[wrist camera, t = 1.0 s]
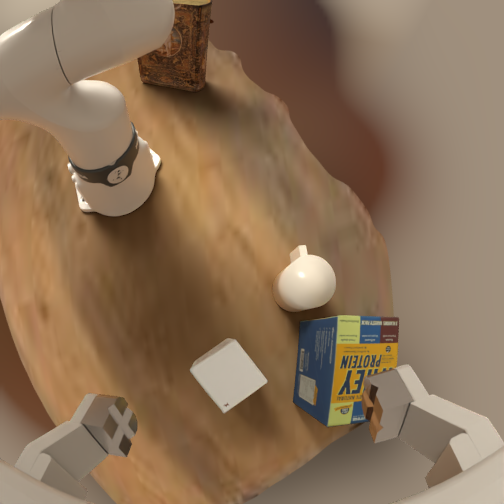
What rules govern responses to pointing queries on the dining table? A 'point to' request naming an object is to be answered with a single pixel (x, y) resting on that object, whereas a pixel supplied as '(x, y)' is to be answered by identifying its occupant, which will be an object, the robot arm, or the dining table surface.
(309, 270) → the off-white mug
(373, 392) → the robot arm
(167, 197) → the dining table surface
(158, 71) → the book
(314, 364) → the protein box
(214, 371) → the supplement box
